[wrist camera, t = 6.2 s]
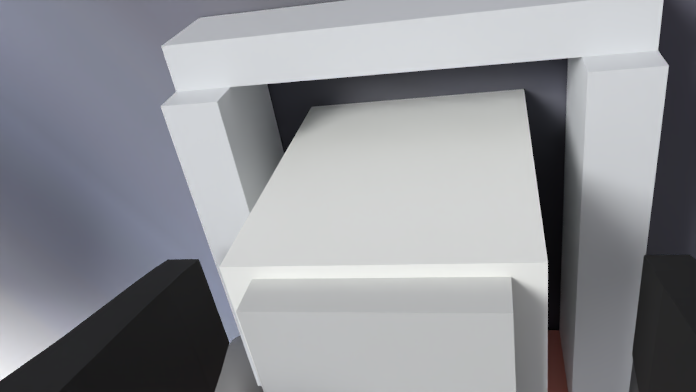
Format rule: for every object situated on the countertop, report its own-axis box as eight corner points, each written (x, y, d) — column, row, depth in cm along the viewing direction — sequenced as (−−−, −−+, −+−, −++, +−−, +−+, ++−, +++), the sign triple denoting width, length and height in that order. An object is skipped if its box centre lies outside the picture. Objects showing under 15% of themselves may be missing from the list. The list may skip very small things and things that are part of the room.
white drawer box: (527, 297, 13) (550, 558, 9) (353, 297, 14) (291, 531, 10) (523, 88, 11) (552, 298, 6) (312, 105, 12) (200, 298, 7)
